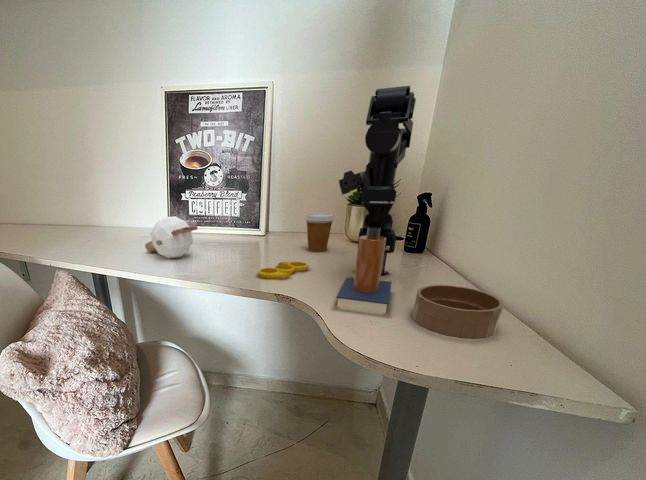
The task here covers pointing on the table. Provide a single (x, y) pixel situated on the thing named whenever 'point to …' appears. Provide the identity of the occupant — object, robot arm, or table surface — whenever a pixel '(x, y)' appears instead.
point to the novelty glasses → (282, 270)
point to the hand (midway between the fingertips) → (372, 234)
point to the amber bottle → (369, 261)
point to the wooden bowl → (457, 311)
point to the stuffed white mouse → (171, 237)
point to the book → (364, 297)
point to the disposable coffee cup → (318, 231)
